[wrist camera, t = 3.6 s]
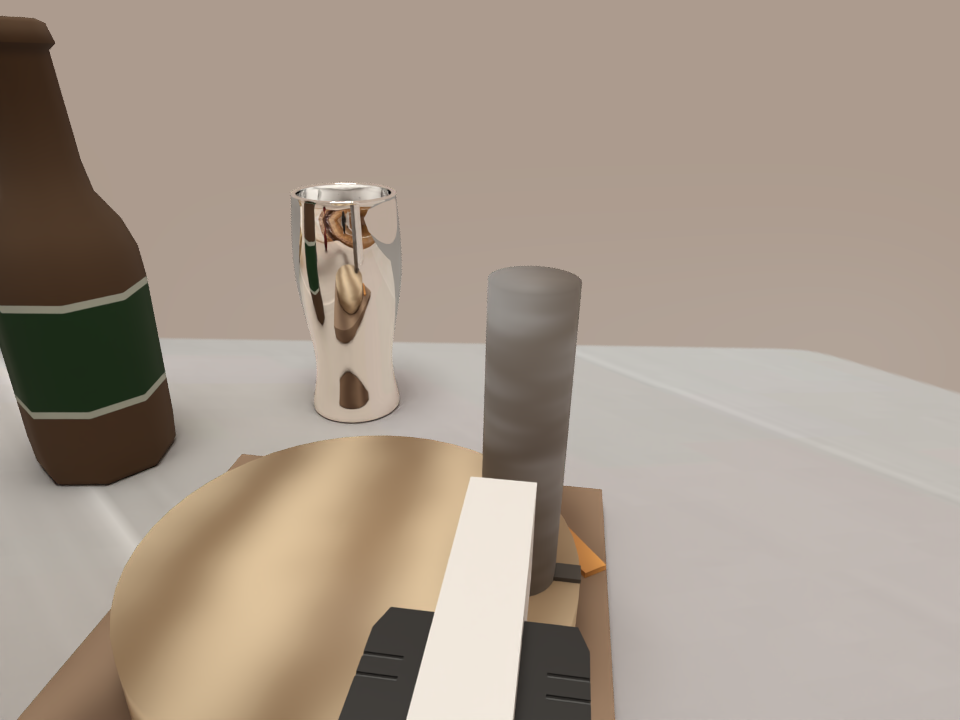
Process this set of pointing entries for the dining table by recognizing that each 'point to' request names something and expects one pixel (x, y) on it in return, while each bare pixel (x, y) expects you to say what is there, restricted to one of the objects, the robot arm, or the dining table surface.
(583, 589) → the dial base
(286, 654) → the cam dial
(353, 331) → the beer glass
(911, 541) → the dining table surface
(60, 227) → the beer bottle
